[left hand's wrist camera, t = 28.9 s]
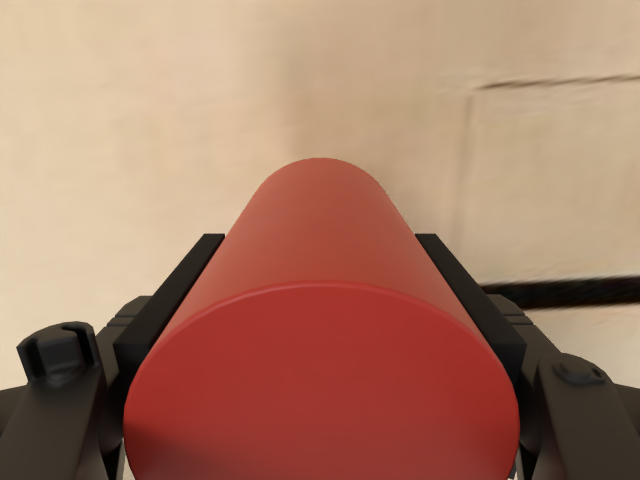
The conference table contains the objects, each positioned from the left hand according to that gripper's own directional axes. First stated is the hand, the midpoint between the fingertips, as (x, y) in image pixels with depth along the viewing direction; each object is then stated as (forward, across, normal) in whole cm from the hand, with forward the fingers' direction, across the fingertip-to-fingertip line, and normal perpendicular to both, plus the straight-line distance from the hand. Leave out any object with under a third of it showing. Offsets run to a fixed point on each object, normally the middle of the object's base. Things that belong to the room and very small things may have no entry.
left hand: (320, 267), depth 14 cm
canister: (+3, 0, 0) cm, 3 cm away
